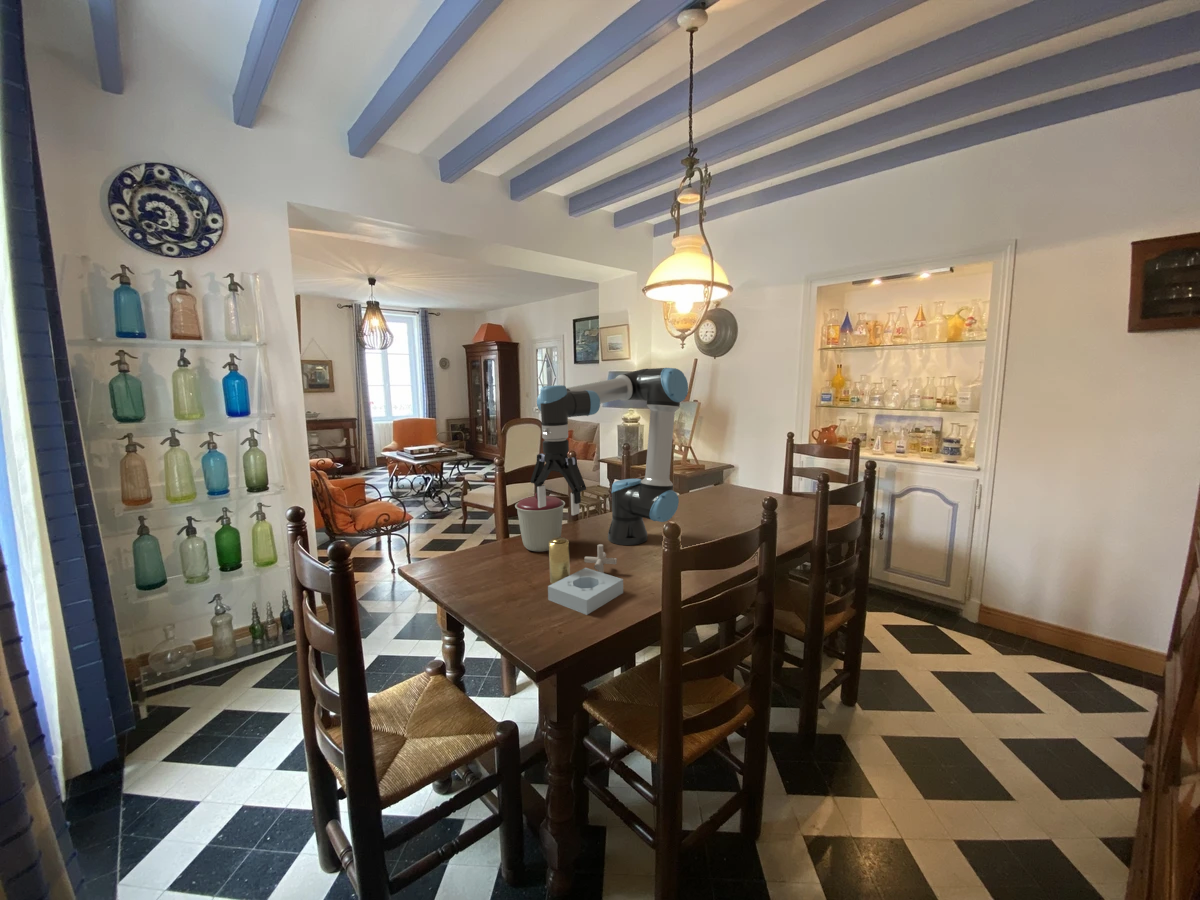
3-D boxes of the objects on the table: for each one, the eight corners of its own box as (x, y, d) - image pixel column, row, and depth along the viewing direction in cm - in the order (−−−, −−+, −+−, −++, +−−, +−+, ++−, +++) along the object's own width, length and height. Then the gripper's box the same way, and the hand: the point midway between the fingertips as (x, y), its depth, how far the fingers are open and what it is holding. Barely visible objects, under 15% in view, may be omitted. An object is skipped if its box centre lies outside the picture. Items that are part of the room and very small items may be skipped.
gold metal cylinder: (559, 576, 148) (558, 534, 146) (574, 581, 144) (572, 538, 142) (546, 583, 144) (544, 540, 142) (560, 588, 140) (559, 544, 138)
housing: (585, 583, 144) (585, 567, 143) (623, 595, 136) (623, 579, 135) (548, 603, 132) (547, 586, 131) (586, 618, 123) (586, 600, 122)
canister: (532, 560, 163) (529, 500, 160) (508, 545, 178) (505, 490, 175) (575, 548, 174) (574, 492, 171) (550, 535, 188) (548, 483, 185)
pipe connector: (613, 583, 144) (613, 551, 142) (581, 581, 146) (580, 550, 144) (619, 570, 153) (618, 540, 152) (588, 568, 155) (588, 539, 154)
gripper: (516, 438, 142) (520, 506, 146) (579, 444, 127) (581, 520, 130) (534, 435, 148) (538, 501, 151) (597, 440, 133) (599, 514, 136)
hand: (558, 510), depth 141 cm, fingers open, 13 cm apart
